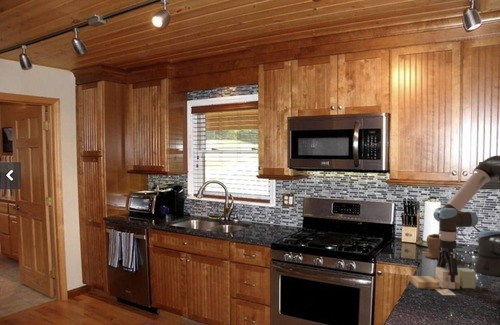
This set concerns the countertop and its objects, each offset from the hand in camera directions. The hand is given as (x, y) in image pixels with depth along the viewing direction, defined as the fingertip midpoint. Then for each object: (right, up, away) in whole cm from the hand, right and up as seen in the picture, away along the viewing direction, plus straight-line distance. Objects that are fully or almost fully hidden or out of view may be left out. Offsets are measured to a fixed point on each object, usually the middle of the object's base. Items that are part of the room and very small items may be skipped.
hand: (446, 285), depth 189 cm
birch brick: (0, 0, 0) cm, 0 cm away
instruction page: (-6, 0, -10) cm, 11 cm away
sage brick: (+9, 0, 0) cm, 9 cm away
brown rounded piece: (+22, 0, +54) cm, 58 cm away
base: (-11, 0, 0) cm, 11 cm away
